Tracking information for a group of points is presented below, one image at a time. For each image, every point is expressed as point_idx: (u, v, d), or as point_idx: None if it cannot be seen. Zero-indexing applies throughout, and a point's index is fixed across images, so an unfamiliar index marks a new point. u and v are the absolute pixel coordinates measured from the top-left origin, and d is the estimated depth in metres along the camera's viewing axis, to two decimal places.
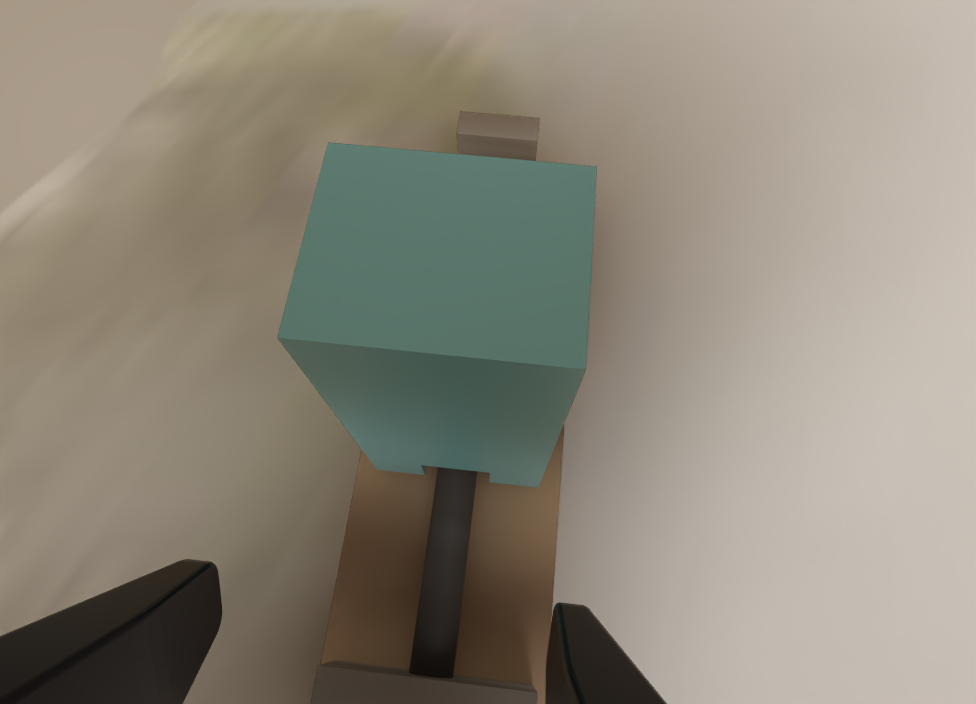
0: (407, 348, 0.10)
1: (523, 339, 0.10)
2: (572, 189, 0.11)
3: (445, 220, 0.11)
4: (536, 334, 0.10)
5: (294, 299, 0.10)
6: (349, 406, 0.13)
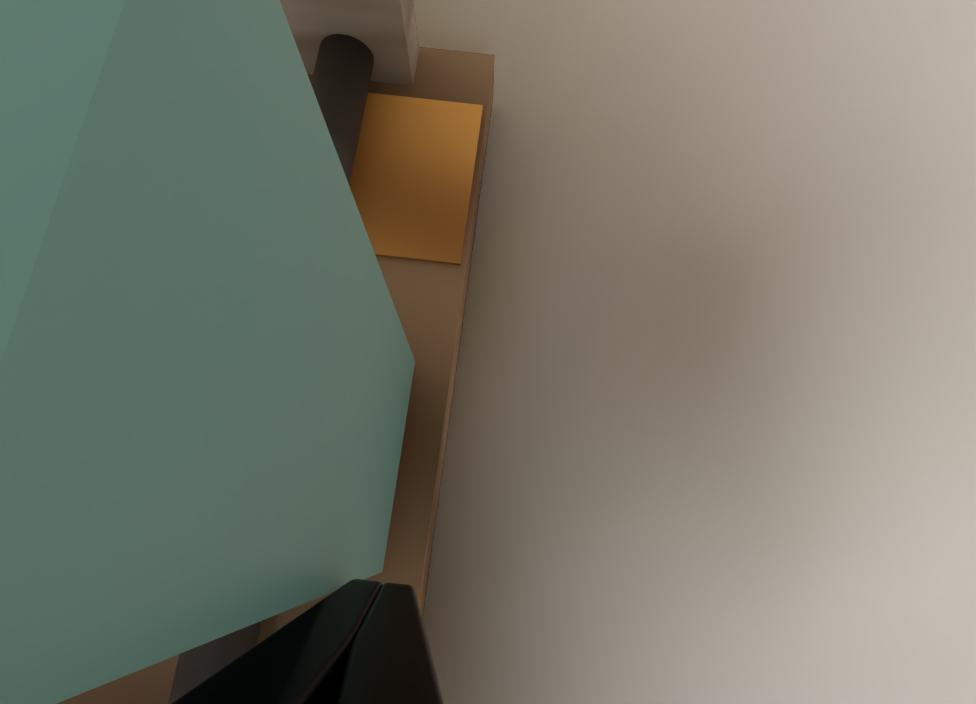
0: None
1: None
2: None
3: None
4: None
5: None
6: None
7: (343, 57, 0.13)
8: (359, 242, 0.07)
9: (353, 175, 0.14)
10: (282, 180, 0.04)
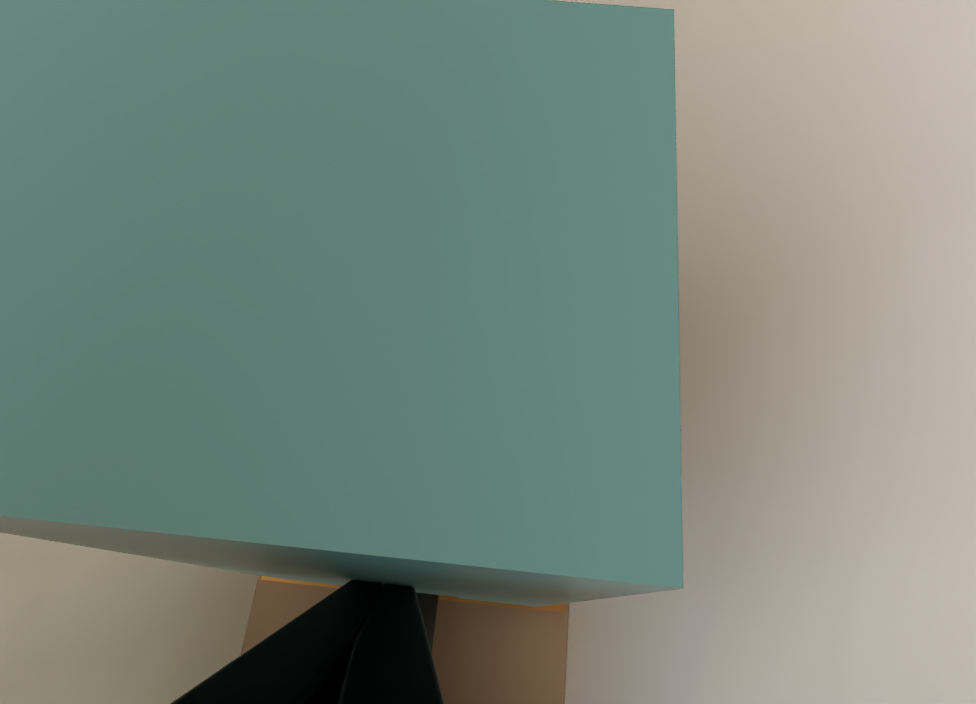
0: (117, 517, 0.03)
1: (486, 481, 0.03)
2: (616, 61, 0.04)
3: (282, 138, 0.04)
4: (523, 469, 0.03)
5: None
6: (144, 553, 0.07)
7: None
8: None
9: None
10: None
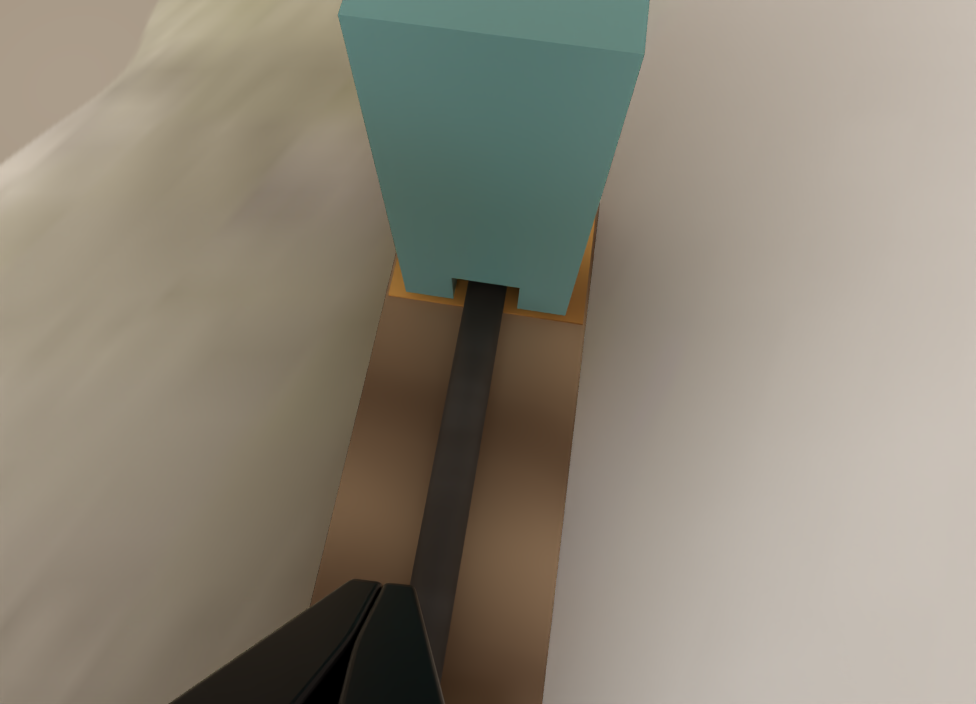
0: (466, 28, 0.10)
1: (583, 26, 0.10)
2: None
3: None
4: (595, 23, 0.10)
5: None
6: (393, 157, 0.14)
7: None
8: None
9: None
10: None
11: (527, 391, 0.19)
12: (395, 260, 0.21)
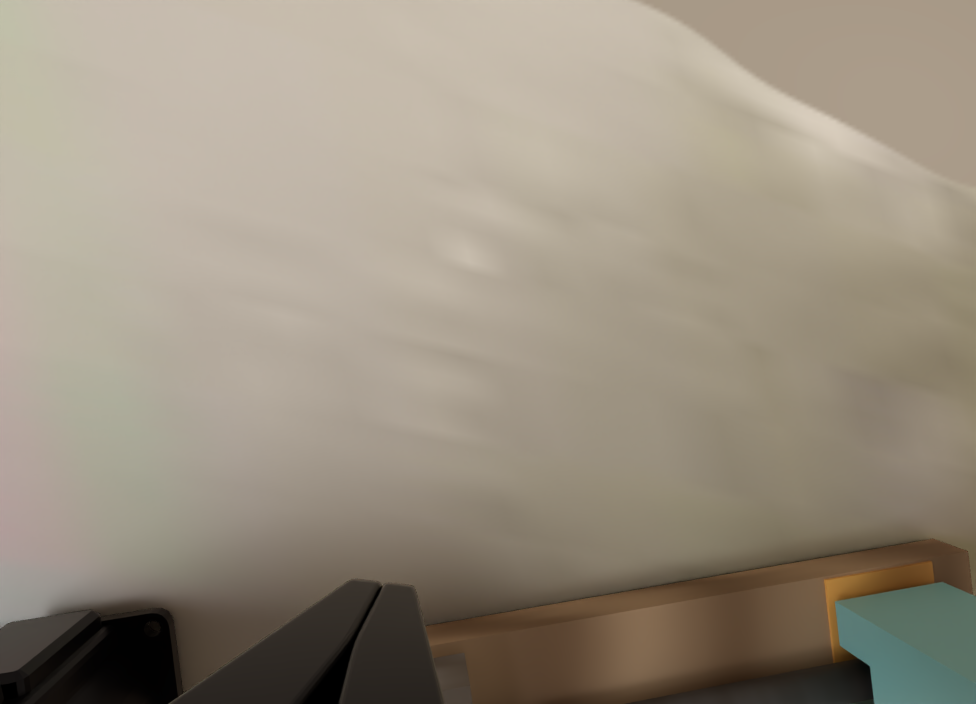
0: None
1: None
2: None
3: None
4: None
5: None
6: None
7: None
8: None
9: None
10: None
11: None
12: (857, 571, 0.22)
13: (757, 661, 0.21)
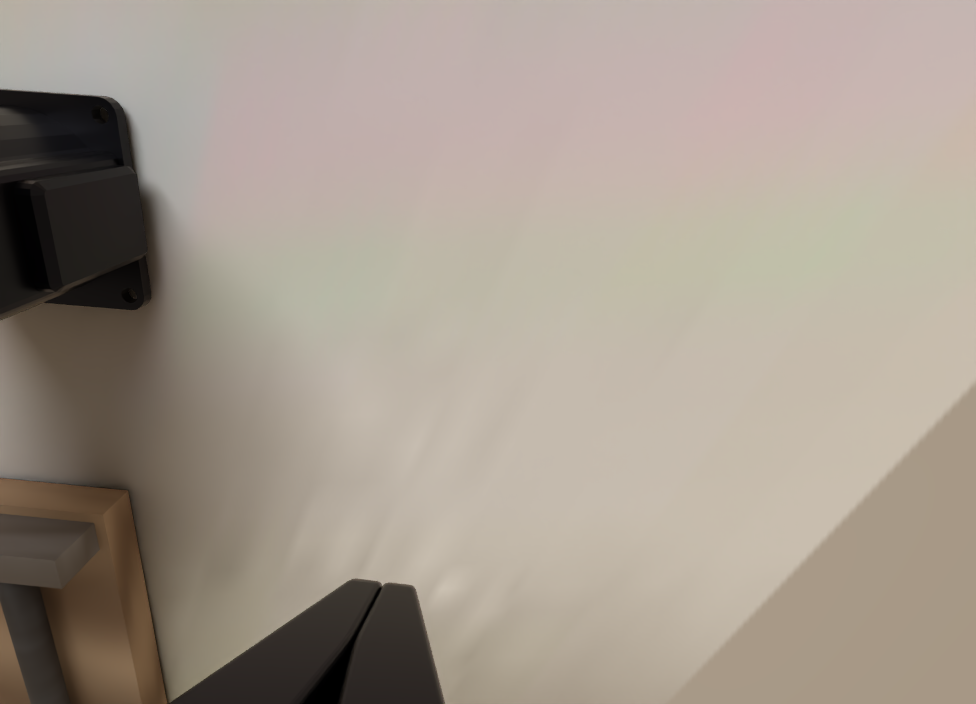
0: None
1: None
2: None
3: None
4: None
5: None
6: None
7: None
8: None
9: None
10: None
11: None
12: None
13: None
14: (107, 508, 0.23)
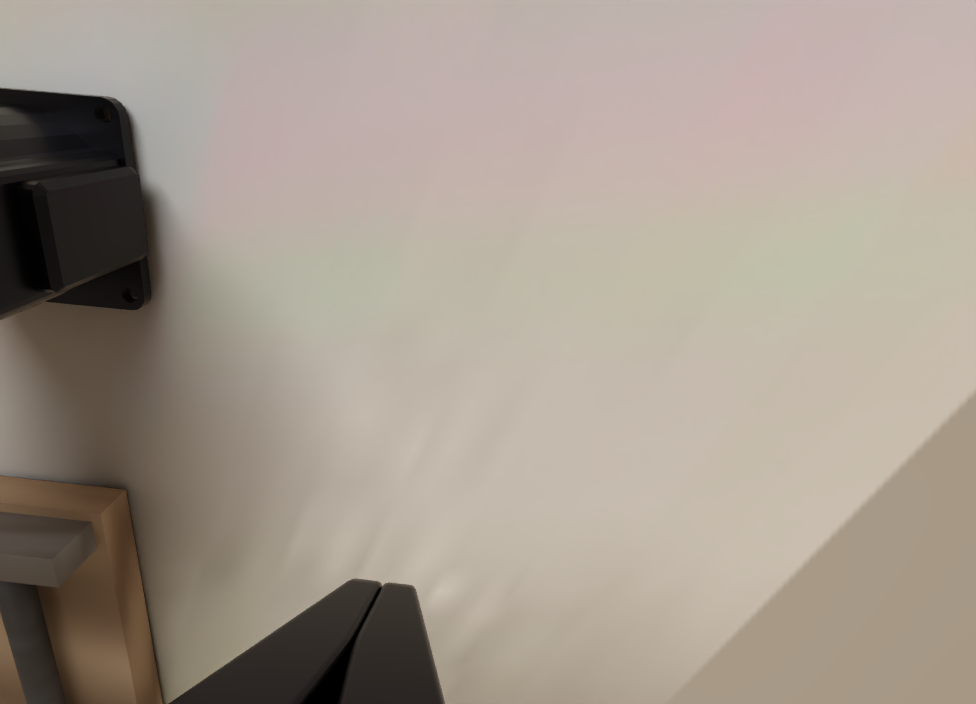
0: None
1: None
2: None
3: None
4: None
5: None
6: None
7: None
8: None
9: None
10: None
11: None
12: None
13: None
14: (105, 507, 0.23)
